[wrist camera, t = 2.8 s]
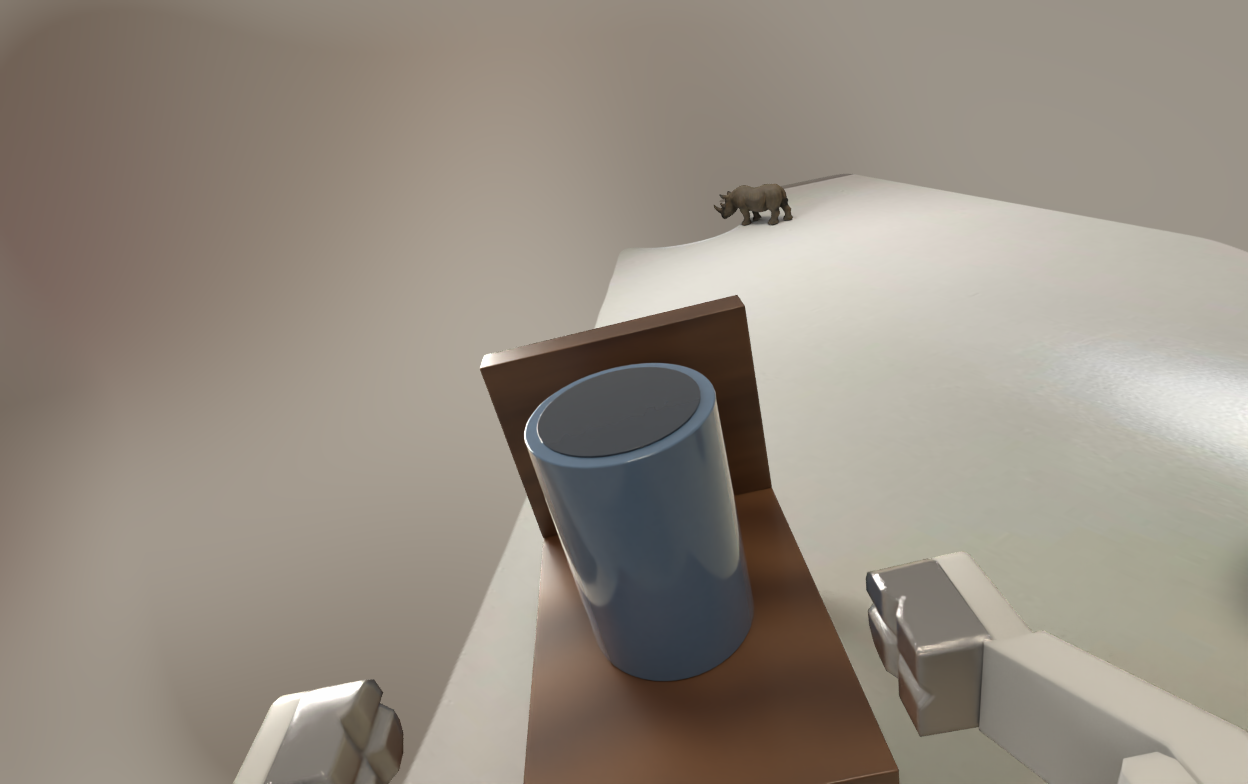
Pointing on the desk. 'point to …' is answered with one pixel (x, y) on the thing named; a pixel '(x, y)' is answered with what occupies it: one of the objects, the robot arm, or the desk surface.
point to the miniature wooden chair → (781, 585)
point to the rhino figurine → (756, 202)
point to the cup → (647, 516)
